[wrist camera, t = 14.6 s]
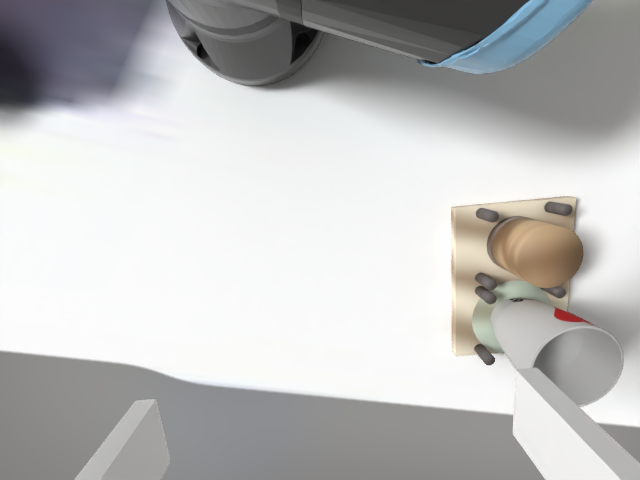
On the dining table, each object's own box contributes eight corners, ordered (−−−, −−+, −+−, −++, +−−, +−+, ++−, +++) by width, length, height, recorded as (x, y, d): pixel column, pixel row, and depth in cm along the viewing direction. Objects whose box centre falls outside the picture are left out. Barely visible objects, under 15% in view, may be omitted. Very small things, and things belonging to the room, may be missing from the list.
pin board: (451, 207, 37) (465, 211, 34) (568, 196, 37) (595, 199, 33) (451, 351, 41) (464, 369, 38) (557, 342, 41) (580, 359, 37)
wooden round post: (487, 218, 36) (519, 229, 31) (543, 213, 36) (586, 222, 30) (486, 271, 38) (516, 291, 32) (540, 266, 38) (581, 285, 32)
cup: (560, 313, 39) (642, 363, 29) (509, 361, 40) (571, 424, 30) (513, 270, 38) (582, 307, 28) (462, 321, 39) (511, 373, 29)
